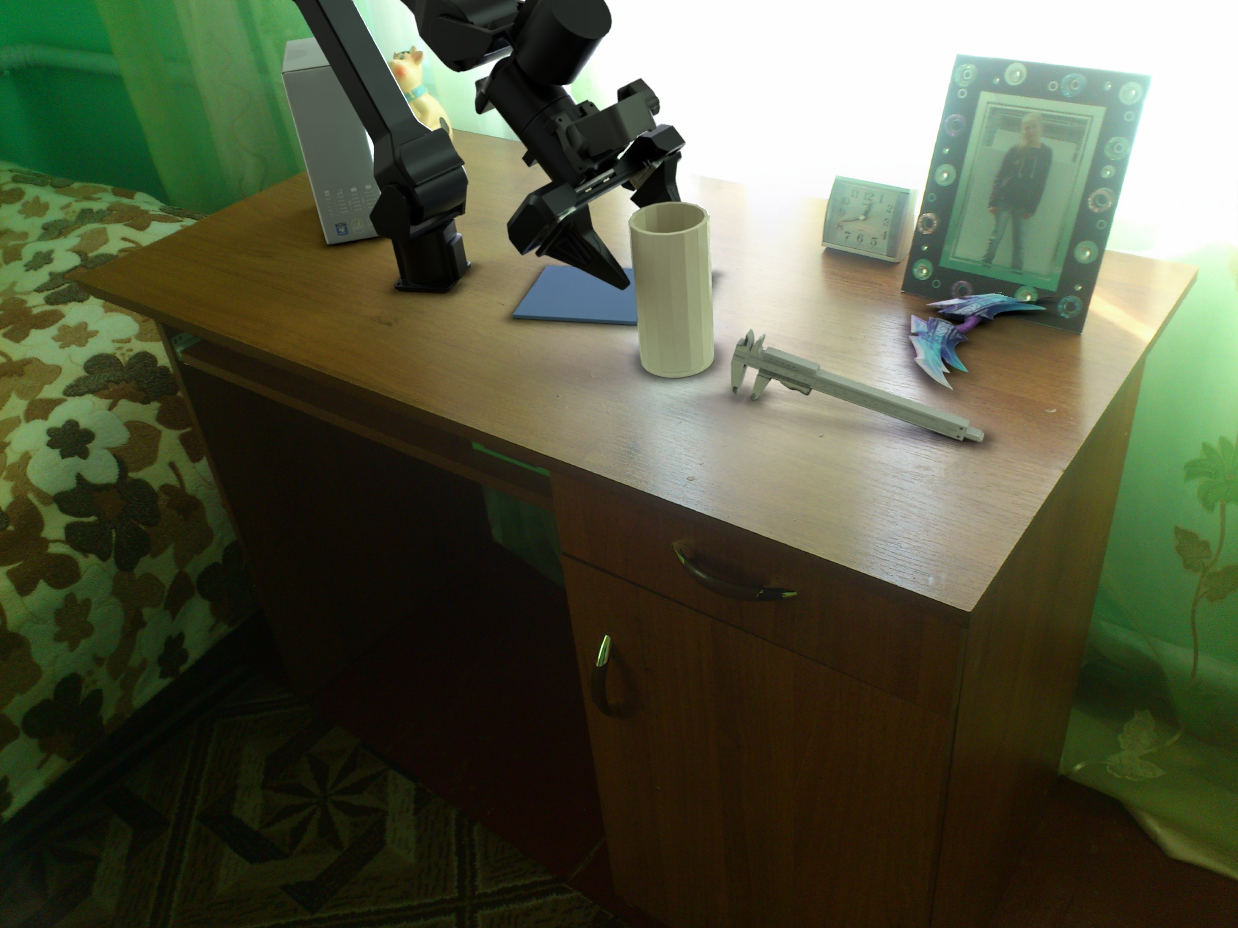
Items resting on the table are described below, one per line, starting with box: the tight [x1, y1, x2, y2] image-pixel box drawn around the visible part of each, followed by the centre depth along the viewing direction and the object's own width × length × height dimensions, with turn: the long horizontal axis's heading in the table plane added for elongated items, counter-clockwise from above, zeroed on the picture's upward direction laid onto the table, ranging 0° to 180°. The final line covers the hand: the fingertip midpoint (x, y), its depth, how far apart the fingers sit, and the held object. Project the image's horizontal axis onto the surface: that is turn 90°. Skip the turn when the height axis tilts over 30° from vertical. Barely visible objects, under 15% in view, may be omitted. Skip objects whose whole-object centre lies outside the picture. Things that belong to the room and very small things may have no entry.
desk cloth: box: [512, 264, 637, 326], centre depth 99 cm, size 18×11×1 cm, turn 75°
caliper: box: [730, 328, 985, 443], centre depth 77 cm, size 20×1×6 cm, turn 63°
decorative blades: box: [908, 292, 1047, 391], centre depth 88 cm, size 20×1×10 cm
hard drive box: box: [280, 36, 381, 245], centre depth 116 cm, size 16×8×20 cm, turn 14°
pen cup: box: [627, 201, 715, 379], centre depth 84 cm, size 7×7×14 cm
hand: (659, 265), depth 84 cm, fingers open, 9 cm apart
